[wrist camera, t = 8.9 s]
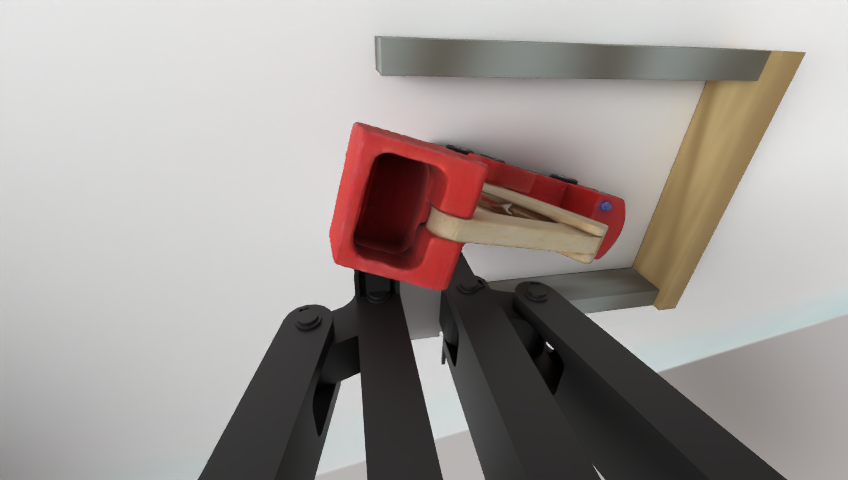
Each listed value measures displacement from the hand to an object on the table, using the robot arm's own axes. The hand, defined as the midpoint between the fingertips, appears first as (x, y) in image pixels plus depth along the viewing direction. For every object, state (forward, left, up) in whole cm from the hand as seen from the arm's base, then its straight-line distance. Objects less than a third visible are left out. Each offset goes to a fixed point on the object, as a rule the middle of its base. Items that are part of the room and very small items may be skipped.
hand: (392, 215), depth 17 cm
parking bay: (+8, 0, -2) cm, 8 cm away
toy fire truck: (+4, +1, -2) cm, 5 cm away
